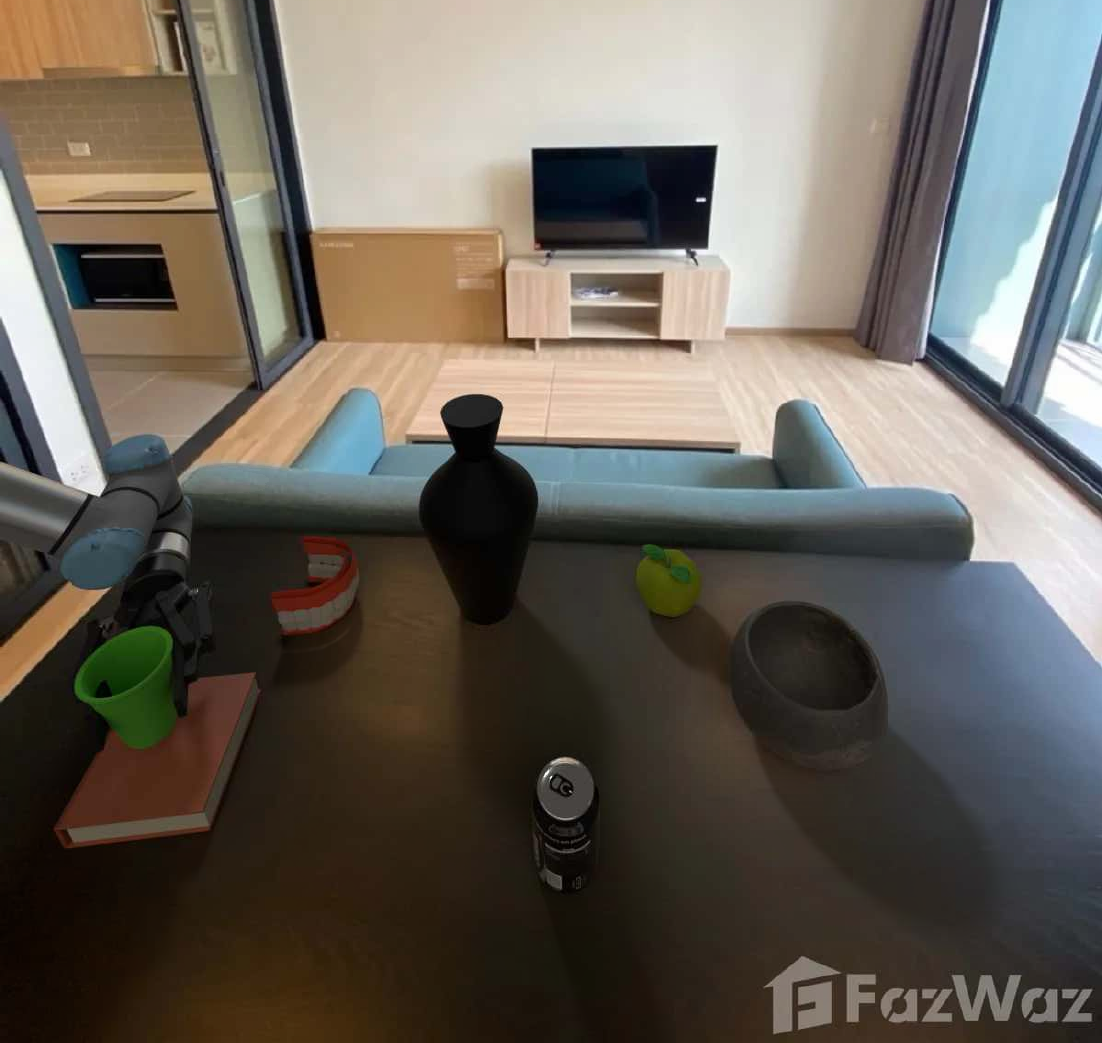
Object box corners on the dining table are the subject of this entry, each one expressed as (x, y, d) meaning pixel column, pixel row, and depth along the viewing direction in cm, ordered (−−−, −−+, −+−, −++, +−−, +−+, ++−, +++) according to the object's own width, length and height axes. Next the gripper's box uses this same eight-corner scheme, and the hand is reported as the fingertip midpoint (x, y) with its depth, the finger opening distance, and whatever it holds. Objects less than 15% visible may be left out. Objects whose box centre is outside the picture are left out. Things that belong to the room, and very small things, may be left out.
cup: (126, 787, 63) (93, 719, 59) (92, 737, 68) (60, 671, 64) (211, 716, 70) (187, 651, 66) (174, 675, 75) (150, 612, 71)
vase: (420, 581, 97) (395, 395, 83) (517, 547, 103) (508, 369, 90) (449, 670, 82) (424, 462, 69) (560, 624, 89) (556, 425, 76)
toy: (348, 639, 87) (339, 599, 84) (278, 639, 87) (267, 599, 84) (372, 572, 99) (366, 534, 96) (311, 572, 99) (302, 535, 96)
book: (64, 848, 64) (53, 829, 63) (143, 702, 79) (136, 684, 77) (210, 830, 65) (202, 811, 64) (261, 690, 80) (255, 672, 79)
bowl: (907, 744, 72) (930, 673, 67) (811, 837, 64) (830, 763, 59) (785, 634, 86) (797, 569, 82) (694, 698, 78) (702, 629, 73)
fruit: (663, 642, 85) (667, 591, 82) (624, 596, 93) (626, 547, 89) (710, 614, 90) (716, 564, 86) (669, 573, 97) (673, 525, 93)
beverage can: (554, 806, 67) (552, 737, 62) (609, 843, 64) (611, 772, 59) (521, 872, 61) (517, 802, 57) (580, 916, 58) (580, 845, 54)
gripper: (242, 568, 87) (249, 704, 68) (78, 624, 79) (34, 797, 60) (231, 528, 85) (234, 659, 66) (59, 582, 76) (6, 750, 57)
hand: (138, 725), depth 63 cm, fingers closed on cup, 7 cm apart
